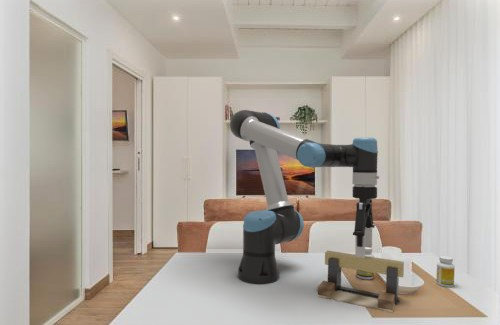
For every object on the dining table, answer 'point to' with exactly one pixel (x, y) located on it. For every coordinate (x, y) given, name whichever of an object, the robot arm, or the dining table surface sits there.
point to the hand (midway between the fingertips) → (364, 251)
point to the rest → (357, 297)
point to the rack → (391, 287)
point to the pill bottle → (364, 273)
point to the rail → (365, 263)
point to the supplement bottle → (445, 272)
